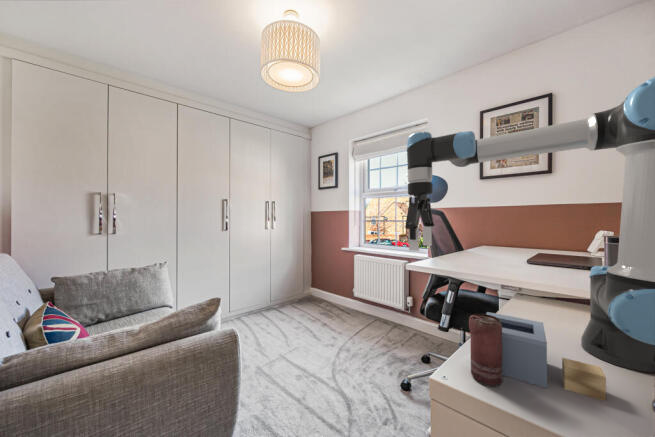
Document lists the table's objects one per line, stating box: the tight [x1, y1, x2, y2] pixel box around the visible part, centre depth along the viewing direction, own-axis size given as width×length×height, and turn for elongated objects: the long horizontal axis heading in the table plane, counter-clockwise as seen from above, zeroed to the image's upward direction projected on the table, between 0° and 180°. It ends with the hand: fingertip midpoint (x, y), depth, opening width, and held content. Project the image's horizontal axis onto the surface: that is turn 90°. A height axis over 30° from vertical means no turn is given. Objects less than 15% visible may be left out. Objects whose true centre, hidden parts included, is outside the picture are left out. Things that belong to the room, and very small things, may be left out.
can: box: [468, 313, 503, 387], centre depth 58 cm, size 6×6×14 cm
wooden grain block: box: [561, 357, 607, 402], centre depth 54 cm, size 6×4×5 cm, turn 53°
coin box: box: [485, 311, 548, 389], centre depth 63 cm, size 12×12×10 cm
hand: (421, 247), depth 83 cm, fingers open, 13 cm apart
